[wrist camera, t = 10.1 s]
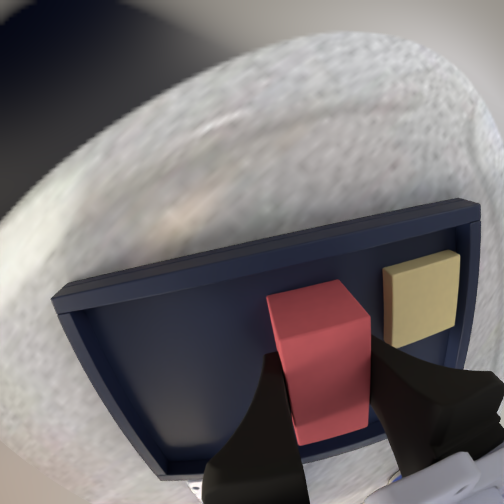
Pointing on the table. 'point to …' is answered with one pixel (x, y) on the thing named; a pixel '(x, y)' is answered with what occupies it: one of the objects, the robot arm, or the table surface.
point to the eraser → (323, 358)
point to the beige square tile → (420, 297)
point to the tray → (246, 326)
